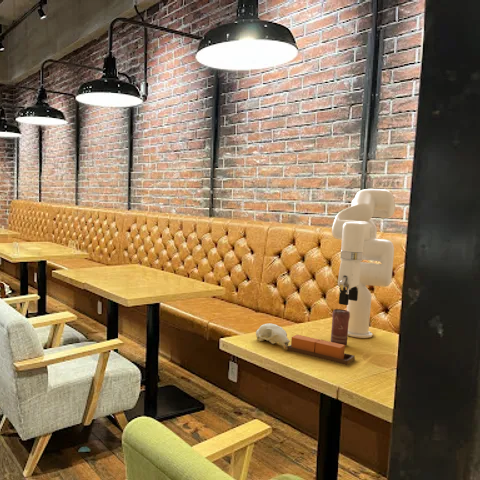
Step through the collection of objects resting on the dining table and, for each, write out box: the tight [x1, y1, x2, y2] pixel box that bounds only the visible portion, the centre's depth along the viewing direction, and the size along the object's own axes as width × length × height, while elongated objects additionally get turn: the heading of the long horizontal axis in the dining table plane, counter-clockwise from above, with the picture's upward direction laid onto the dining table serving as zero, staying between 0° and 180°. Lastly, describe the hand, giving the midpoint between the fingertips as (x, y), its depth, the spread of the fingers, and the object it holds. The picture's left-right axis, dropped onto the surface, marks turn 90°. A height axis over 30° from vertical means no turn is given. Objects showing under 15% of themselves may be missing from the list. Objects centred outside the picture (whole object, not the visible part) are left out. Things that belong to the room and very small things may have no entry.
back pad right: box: [315, 339, 346, 359], centre depth 176 cm, size 5×9×5 cm, turn 51°
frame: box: [286, 344, 356, 366], centre depth 179 cm, size 8×22×2 cm, turn 51°
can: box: [330, 308, 350, 347], centre depth 193 cm, size 6×6×14 cm
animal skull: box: [255, 322, 291, 350], centre depth 190 cm, size 10×16×10 cm, turn 16°
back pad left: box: [290, 334, 320, 353], centre depth 182 cm, size 5×9×5 cm, turn 51°
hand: (348, 302), depth 178 cm, fingers open, 9 cm apart
